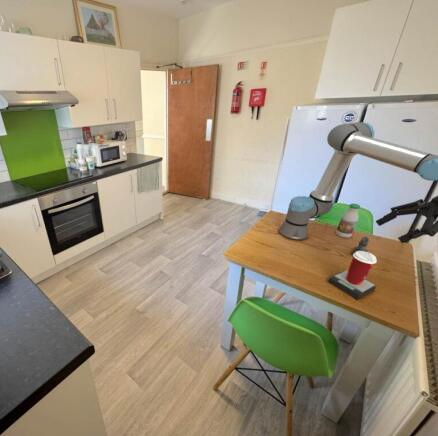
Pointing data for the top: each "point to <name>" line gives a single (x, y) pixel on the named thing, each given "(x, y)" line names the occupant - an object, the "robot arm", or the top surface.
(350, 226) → the milk bottle
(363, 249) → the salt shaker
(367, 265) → the paper cup
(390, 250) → the top surface
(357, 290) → the scale
